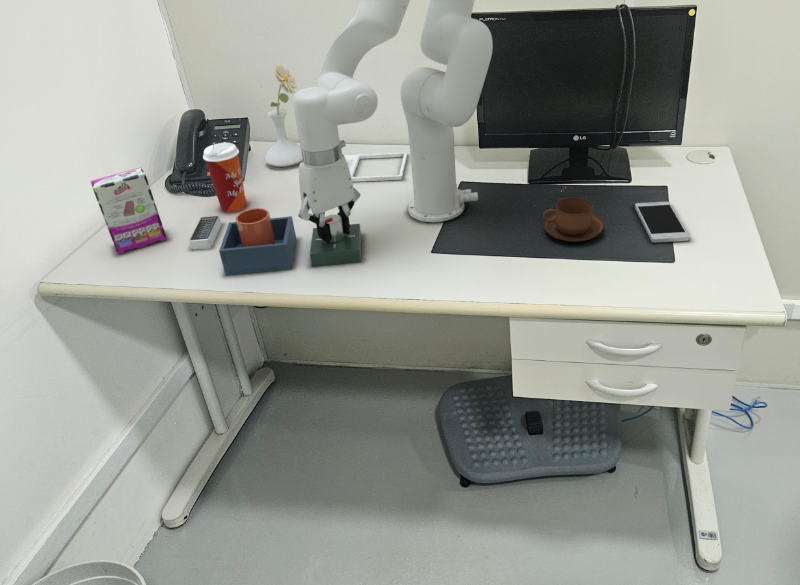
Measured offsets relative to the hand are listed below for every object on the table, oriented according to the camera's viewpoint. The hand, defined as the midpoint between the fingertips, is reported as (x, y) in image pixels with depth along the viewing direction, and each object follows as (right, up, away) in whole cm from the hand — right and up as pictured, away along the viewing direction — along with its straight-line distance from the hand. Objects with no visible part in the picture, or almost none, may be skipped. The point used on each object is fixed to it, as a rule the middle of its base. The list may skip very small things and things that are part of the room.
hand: (334, 235), depth 147 cm
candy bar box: (-45, -1, +13) cm, 47 cm away
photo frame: (+6, +20, +35) cm, 41 cm away
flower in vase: (-17, +24, +45) cm, 53 cm away
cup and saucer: (+49, 0, 0) cm, 49 cm away
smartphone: (+67, +2, -1) cm, 67 cm away
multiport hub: (-30, +1, +13) cm, 32 cm away
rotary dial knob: (0, -1, 0) cm, 1 cm away
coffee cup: (-27, +9, +24) cm, 37 cm away
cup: (-16, -4, +2) cm, 16 cm away
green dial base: (0, -3, +2) cm, 4 cm away
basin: (-16, -4, +3) cm, 16 cm away
